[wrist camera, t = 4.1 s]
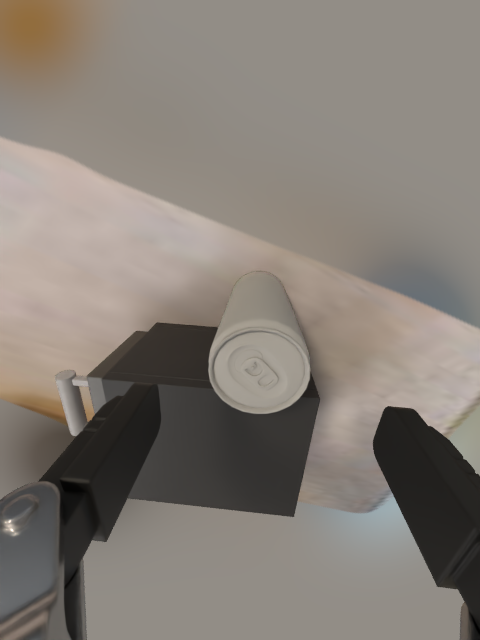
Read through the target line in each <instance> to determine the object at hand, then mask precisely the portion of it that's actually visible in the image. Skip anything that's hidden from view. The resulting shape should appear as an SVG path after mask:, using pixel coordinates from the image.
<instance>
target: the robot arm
mask: <svg viewBox="0 0 480 640" xmlns="http://www.w3.org/2000/svg"><path fill="white" fill-rule="evenodd" d="M160 425H161V409H160V399H159V389H158V385H157V384H150V383H140V382H135V383H134V384H133V385H132V386H131V387H130V388H129V390H128V391H127V392H126V393H125V395H124V396H118V395H117V396H116V397H114V398H113V399H111V400H110V401H109V402H107V403H106V404H104V405H103V406H102V407H101V408H100V409H99V410H98V412H97V413H96V414H95V415H94V416H93V418H92V420H90V421H89V422H88V423H87V425H86V426H85V427H84V428H83V431H81V432H80V433H79V434H78V435H77V436H76V438H75V439H74V440H73V441H72V442H71V444H70V445H69V446H68V447H67V448H66V450H65V451H64V452H63V453H62V454H61V455H60V457H59V458H58V459H57V460H56V461H55V462H54V464H53V465H52V466H51V467H50V468H49V470H48V471H47V472H46V473H45V474H44V475H43V477H42V478H41V479H40V480H39V481H38V482H34V483H30V484H27V485H24V486H22V487H20V488H17V489H16V490H14V491H13V492H11V493H9V494H7V495H6V496H5V497H3V498H2V499H1V500H0V640H87V630H86V609H85V588H84V587H85V586H84V565H83V556H84V554H85V552H86V550H87V549H88V547H89V544H90V543H91V541H92V540H95V541H103V542H106V541H107V540H108V537H109V535H110V533H111V531H112V529H113V527H114V525H115V523H116V520H117V519H118V517H119V514H120V512H121V510H122V508H123V506H124V504H125V502H126V500H127V498H128V496H129V494H130V491H131V489H132V487H133V485H134V483H135V481H136V479H137V477H138V475H139V473H140V470H141V468H142V466H143V464H144V462H145V460H146V458H147V456H148V454H149V452H150V450H151V447H152V445H153V443H154V441H155V439H156V437H157V435H158V432H159V429H160ZM373 450H374V454H375V458H376V460H377V462H378V464H379V466H380V468H381V470H382V472H383V474H384V476H385V479H386V481H387V483H388V485H389V487H390V489H391V491H392V493H393V495H394V497H395V499H396V501H397V503H398V506H399V508H400V510H401V512H402V514H403V516H404V518H405V520H406V522H407V524H408V526H409V528H410V531H411V533H412V535H413V537H414V539H415V541H416V543H417V545H418V547H419V549H420V551H421V553H422V556H423V557H424V560H425V562H426V564H427V566H428V568H429V570H430V572H431V574H432V576H433V578H434V580H435V583H436V585H437V586H438V587H445V588H452V589H458V590H459V592H460V594H461V596H462V598H463V600H464V601H465V602H464V603H463V605H462V607H461V617H460V640H480V476H479V475H478V474H476V473H475V470H474V469H473V467H472V466H471V465H470V464H469V463H468V462H467V460H464V459H463V456H462V455H461V453H460V452H459V451H458V450H457V449H456V448H455V446H454V445H453V444H452V443H451V442H450V440H448V439H447V438H446V437H444V436H443V435H442V434H441V433H439V432H438V431H437V430H435V429H434V428H433V427H432V426H428V425H427V424H426V423H425V422H424V420H423V419H422V418H421V417H420V415H419V414H418V413H417V412H416V411H415V410H414V409H411V408H401V407H391V406H388V407H386V408H385V409H384V411H383V414H382V417H381V419H380V422H379V425H378V428H377V431H376V433H375V436H374V440H373Z"/></svg>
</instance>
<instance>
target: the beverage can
mask: <svg viewBox="0 0 480 640" xmlns="http://www.w3.org/2000/svg"><path fill="white" fill-rule="evenodd" d="M208 362H209V369H208V371H209V378H210V382H211V384H212V386H213V388H214V391H215V392H216V393H217V394H218V396H219V397H220V398H221V399H222V400H223V401H224V402H226V403H227V404H229V405H230V406H231V407H233V408H236V409H238V410H240V411H243V412H248V413H253V414H268V413H273V412H277V411H280V410H283V409H285V408H287V407H289V406H291V405H292V404H293V403H294V402H296V401H297V400H298V399H299V398H300V397H301V396H302V394H303V393H304V391H305V390H306V388H307V385H308V382H309V380H310V356H309V352H308V349H307V345H306V343H305V340H304V337H303V335H302V332H301V330H300V327H299V324H298V322H297V319H296V316H295V314H294V311H293V309H292V306H291V304H290V302H289V299H288V297H287V295H286V292H285V289H284V287H283V285H282V283H281V281H280V280H279V279H278V278H277V277H276V276H274V275H272V274H270V273H268V272H263V271H256V272H251V273H248V274H246V275H244V276H243V277H241V278H240V279H239V280H238V281H237V282H236V284H235V286H234V288H233V290H232V293H231V295H230V298H229V301H228V303H227V306H226V309H225V311H224V314H223V317H222V319H221V322H220V325H219V327H218V330H217V333H216V335H215V338H214V341H213V343H212V346H211V349H210V354H209V361H208Z"/></svg>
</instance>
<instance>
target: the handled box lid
mask: <svg viewBox="0 0 480 640" xmlns="http://www.w3.org/2000/svg"><path fill="white" fill-rule="evenodd" d="M146 333H147V332H142V331H136V332H134V333H133V334H132V335H131V336H130V337H129V338H128V339H127V340H126V341H125V342H123V343H122V344H121V345H120V346H119V347H118V348H117V349H116V350H115V351H114V352H112V353H111V354H110V355H109V356H108V357H107V358H106V359H105V360H104V361H103V362H101V363H100V364H99V365H98V366H97V367H96V368H95V369H94V370H93V371H92V372H91V373H89V374H88V375H87V376H76V372H75V371H74V370H65V371H62V372H60V373H58V374H57V375H56V376H55V380H56V384H57V387H58V391H59V394H60V398H61V401H62V405H63V408H64V412H65V415H66V419H67V422H68V426H69V429H70V433H71V434H72V435H74V436H77V435H78V434H79V433H80V432H81V431H83V428H84V427H85V426H86V425H87V423H88V422H87V418H86V414H85V409H84V405H83V401H82V397H81V393H80V389H79V386H85V387H89V390H90V395H91V399H92V404H93V408H94V413H95V414H96V413H97V412H98V410H99V409H100V408H101V407H102V406H103V405H104V404H106V401H105V396H104V391H103V386H102V380H101V379H102V378H103V377H104V376H105V375H106V374H107V373H108V372H109V371H110V370H111V369H112V368H113V367H114V366H115V365H116V364H117V363H118V362H119V361H120V360H121V359H122V358H123V357H124V356H125V355H126V354H127V353H128V352H129V351H130V350H131V349H132V348H133V347H134V346H135V345H136V344H137V343H138V342H139V341H140V339H141V338H142V337H143V336H144V335H145V334H146Z"/></svg>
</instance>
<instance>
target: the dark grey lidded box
mask: <svg viewBox="0 0 480 640" xmlns="http://www.w3.org/2000/svg"><path fill="white" fill-rule="evenodd" d="M217 330H218V327H205V326H193V325H180V324H167V323H156V324H155V325H154V326H153V327H152V328H151V329H150V330H149V331H148V332H147V333H146V334H145V335H144V336H143V337H142V338H141V339H140V341H139V342H138V343H137V344H136V345H135V346H134V347H133V348H132V349H131V350H130V351H129V352H128V353H127V354H126V355H125V356H124V357H123V358H122V359H121V360H120V361H119V362H118V363H117V364H116V365H115V366H114V367H113V368H112V369H111V370H110V371H109V372H108V373H107V374H106V375H105V376H104V377H103V378H102V379H101V380H102V386H103V391H104V396H105V401H106V403H107V402H109V401H110V400H111V399H113V398H114V397H116V396H117V395H118V396H124V395H125V393H126V392H127V391H128V390H129V388H130V387H131V386H132V385H133V384H134V383H135V382H140V383H150V384H157V385H158V389H159V399H160V409H161V425H160V429H159V432H158V435H157V437H156V439H155V441H154V443H153V445H152V447H151V450H150V452H149V454H148V456H147V458H146V460H145V462H144V464H143V466H142V468H141V470H140V473H139V475H138V477H137V479H136V481H135V483H134V485H133V487H132V489H131V491H130V494H129V496H128V498H130V499H139V500H147V501H156V502H165V503H174V504H184V505H193V506H201V507H210V508H219V509H228V510H237V511H246V512H254V513H264V514H273V515H282V516H290V517H294V514H295V509H296V505H297V500H298V496H299V491H300V487H301V482H302V478H303V473H304V469H305V464H306V460H307V456H308V451H309V447H310V442H311V438H312V433H313V429H314V424H315V420H316V415H317V411H318V406H319V402H320V397H319V394H318V391H317V389H316V386H315V383H314V380H313V377H312V374H311V371H310V380H309V382H308V385H307V388H306V390H305V391H304V393H303V394H302V396H301V397H300V398H299V399H298V400H297V401H296V402H294V403H293V404H292V405H291V406H289V407H287V408H285V409H283V410H280V411H277V412H273V413H268V414H253V413H248V412H243V411H240V410H238V409H236V408H233V407H231V406H230V405H229V404H227V403H226V402H224V401H223V400H222V399H221V398H220V397H219V396H218V394H217V393H216V392H215V391H214V388H213V386H212V384H211V382H210V378H209V371H208V369H209V362H208V361H209V354H210V349H211V346H212V343H213V341H214V338H215V335H216V333H217Z"/></svg>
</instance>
